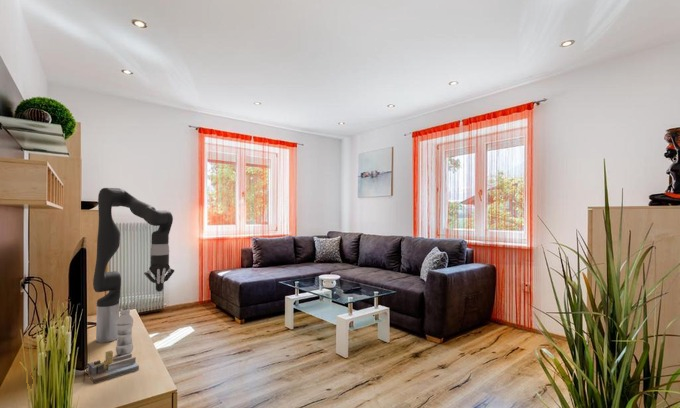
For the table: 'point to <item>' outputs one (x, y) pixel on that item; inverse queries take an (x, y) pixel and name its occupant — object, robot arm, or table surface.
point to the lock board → (112, 368)
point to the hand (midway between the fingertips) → (159, 291)
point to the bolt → (107, 360)
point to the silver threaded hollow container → (124, 332)
